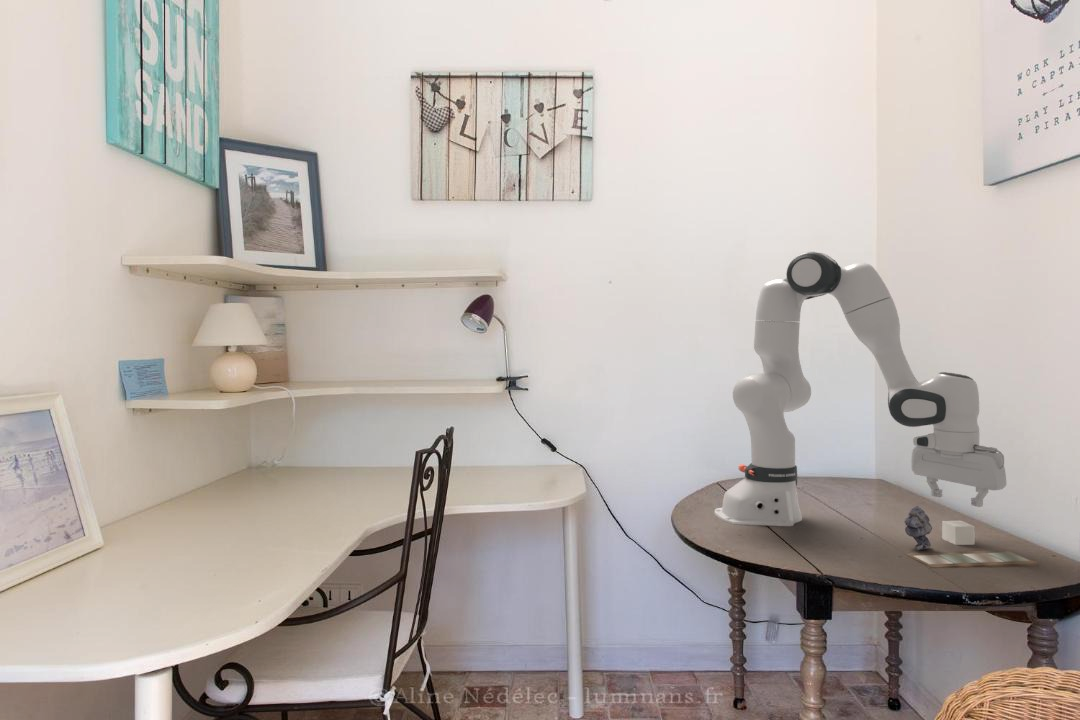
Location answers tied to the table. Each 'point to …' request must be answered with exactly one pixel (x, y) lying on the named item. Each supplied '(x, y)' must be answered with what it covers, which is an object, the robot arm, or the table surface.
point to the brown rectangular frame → (972, 559)
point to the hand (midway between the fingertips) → (956, 501)
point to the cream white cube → (958, 532)
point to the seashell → (918, 527)
